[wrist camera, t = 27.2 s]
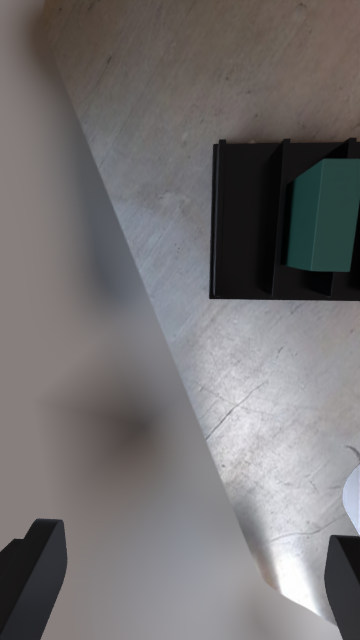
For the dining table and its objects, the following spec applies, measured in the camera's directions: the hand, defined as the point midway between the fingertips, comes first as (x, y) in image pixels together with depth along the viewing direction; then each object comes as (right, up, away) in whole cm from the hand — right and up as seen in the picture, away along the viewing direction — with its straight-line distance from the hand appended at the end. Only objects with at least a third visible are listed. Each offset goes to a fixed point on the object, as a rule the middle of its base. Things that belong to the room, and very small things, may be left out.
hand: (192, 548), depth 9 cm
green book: (+12, +17, +23) cm, 31 cm away
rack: (+12, +17, +24) cm, 32 cm away
